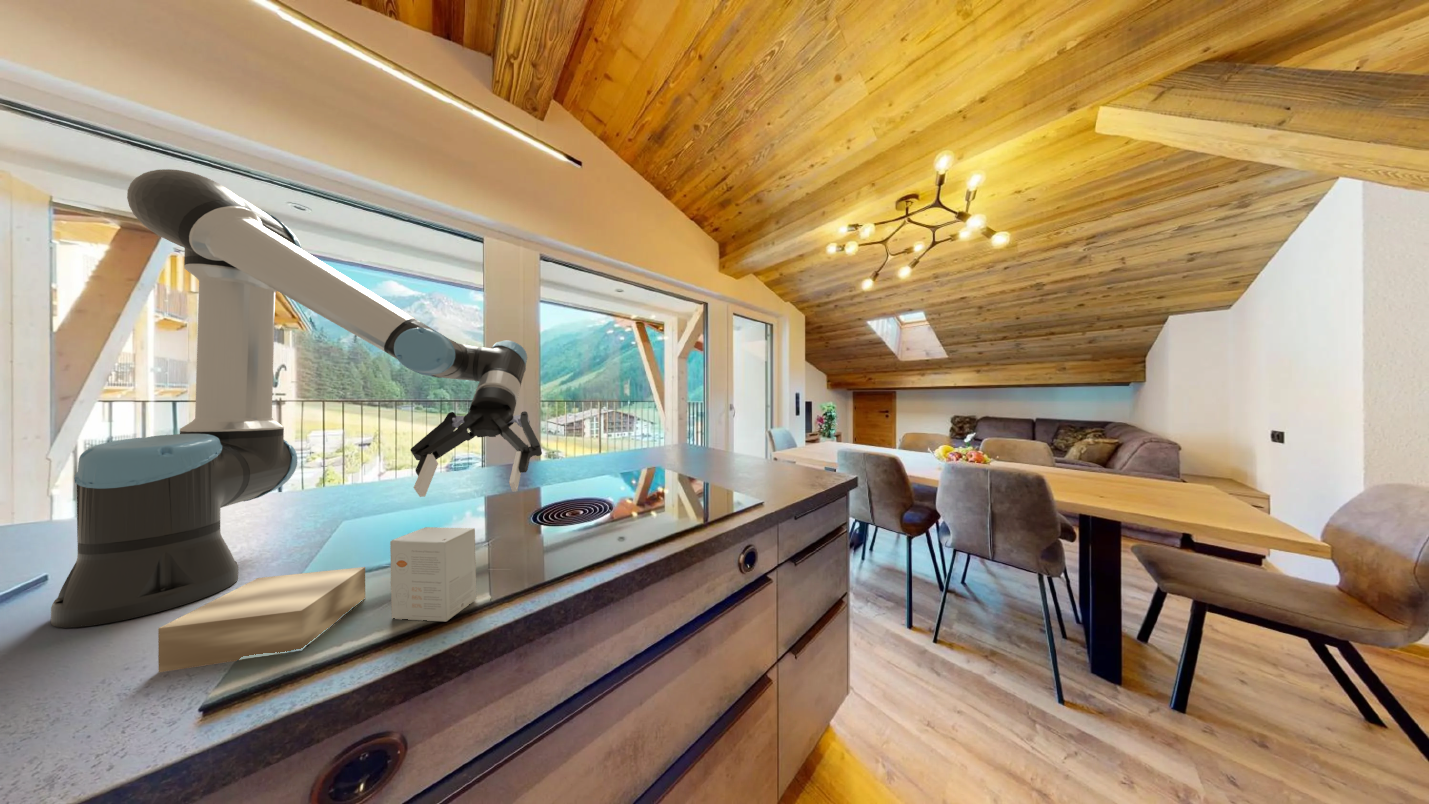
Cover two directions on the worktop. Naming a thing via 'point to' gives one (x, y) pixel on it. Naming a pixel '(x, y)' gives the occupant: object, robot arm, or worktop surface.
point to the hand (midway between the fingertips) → (467, 489)
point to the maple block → (260, 618)
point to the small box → (432, 573)
